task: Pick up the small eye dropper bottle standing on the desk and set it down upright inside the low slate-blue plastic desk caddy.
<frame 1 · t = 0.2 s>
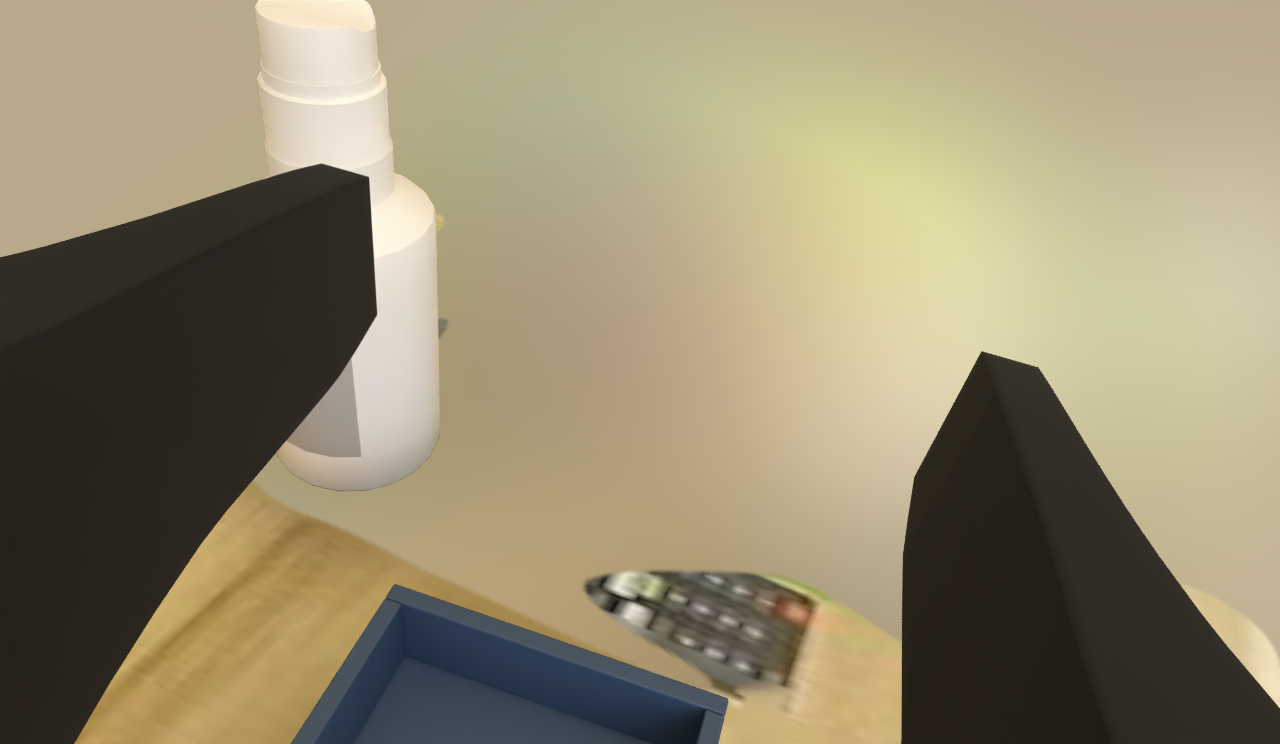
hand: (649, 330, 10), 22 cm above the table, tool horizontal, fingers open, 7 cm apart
spray bottle: (359, 439, 38), on the table
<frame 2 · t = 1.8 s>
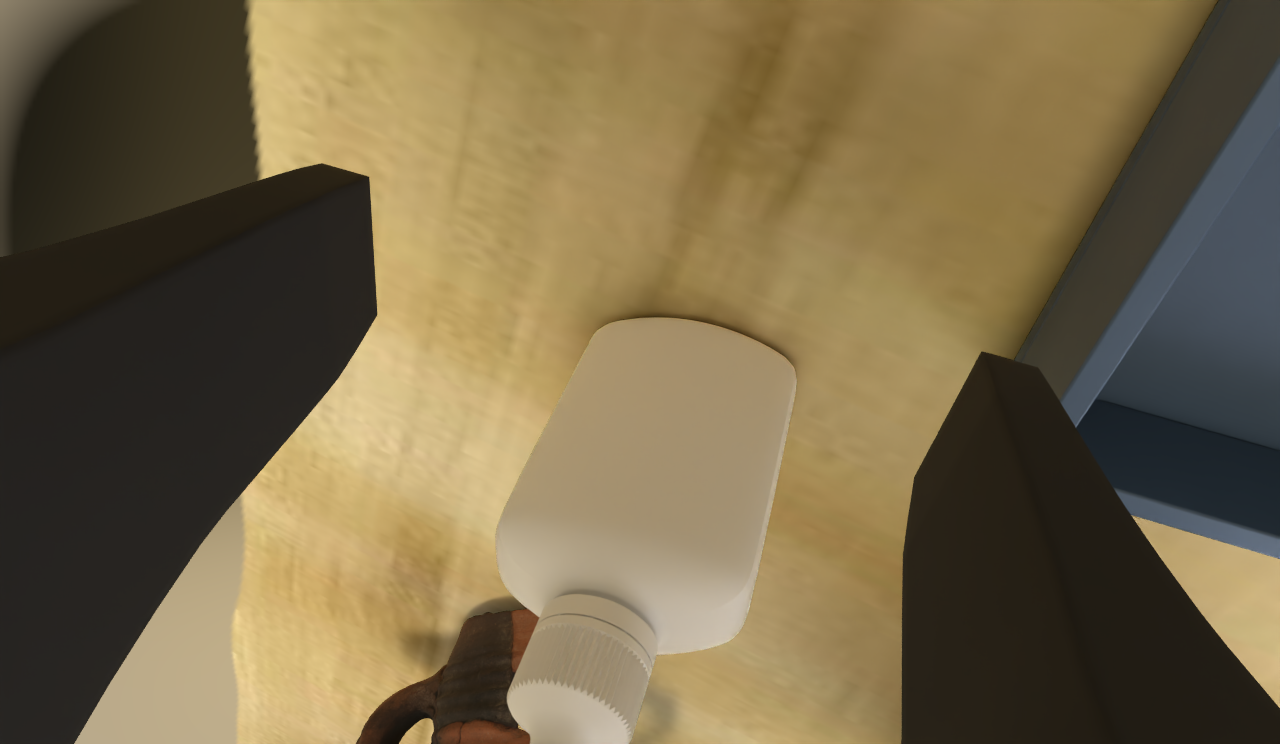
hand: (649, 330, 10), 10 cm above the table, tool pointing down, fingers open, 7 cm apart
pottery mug: (543, 668, 36), on the table
eye dropper bottle: (695, 363, 24), on the table
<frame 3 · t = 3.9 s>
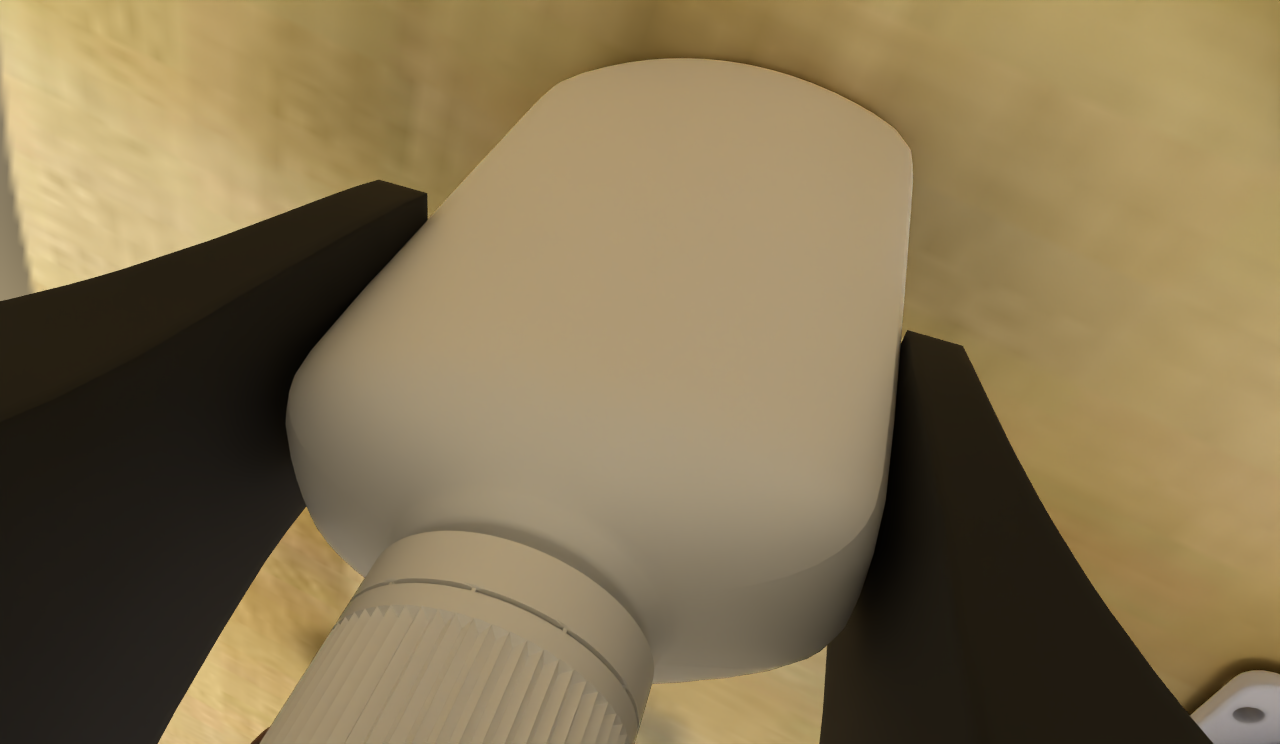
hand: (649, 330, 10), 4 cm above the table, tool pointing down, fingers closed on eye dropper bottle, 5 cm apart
eye dropper bottle: (723, 160, 14), on the table, touching gripper
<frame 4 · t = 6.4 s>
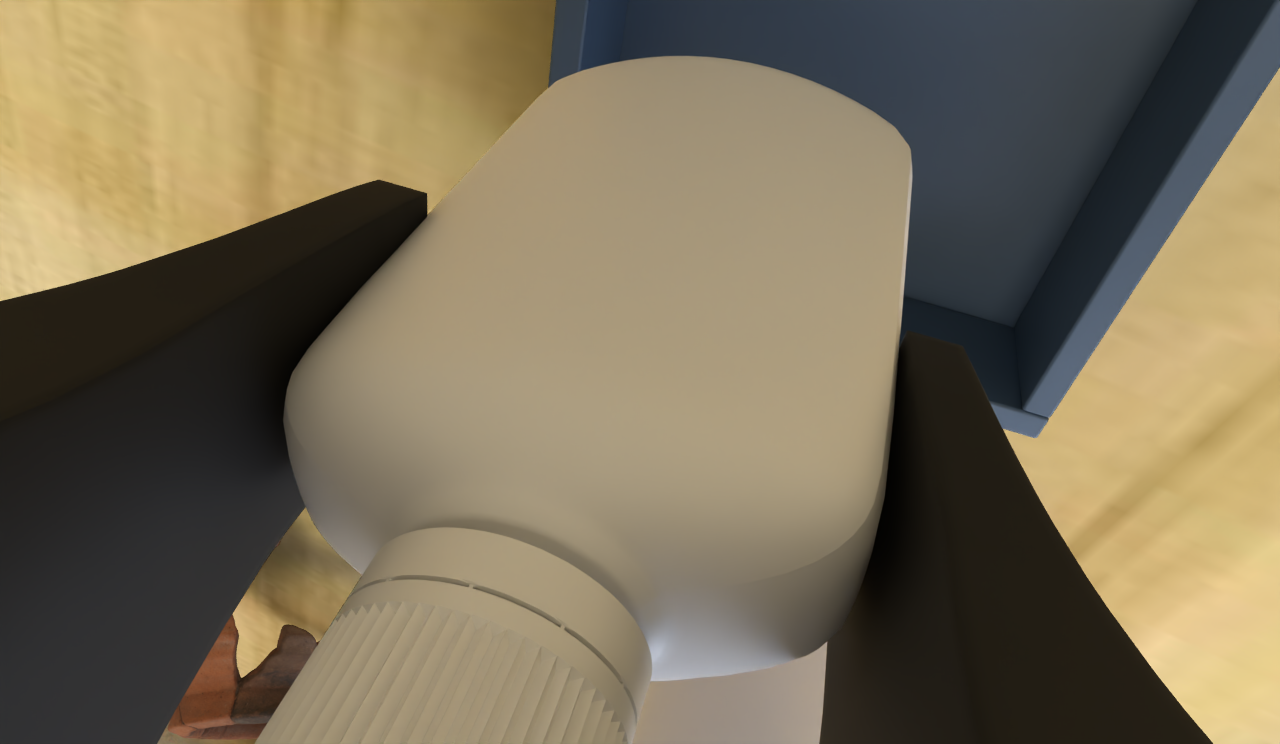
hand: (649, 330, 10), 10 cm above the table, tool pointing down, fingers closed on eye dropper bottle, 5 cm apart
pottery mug: (289, 563, 37), on the table
eye dropper bottle: (722, 158, 14), point 6 cm above the table, touching gripper
ceramic sculpture: (274, 740, 49), on the table
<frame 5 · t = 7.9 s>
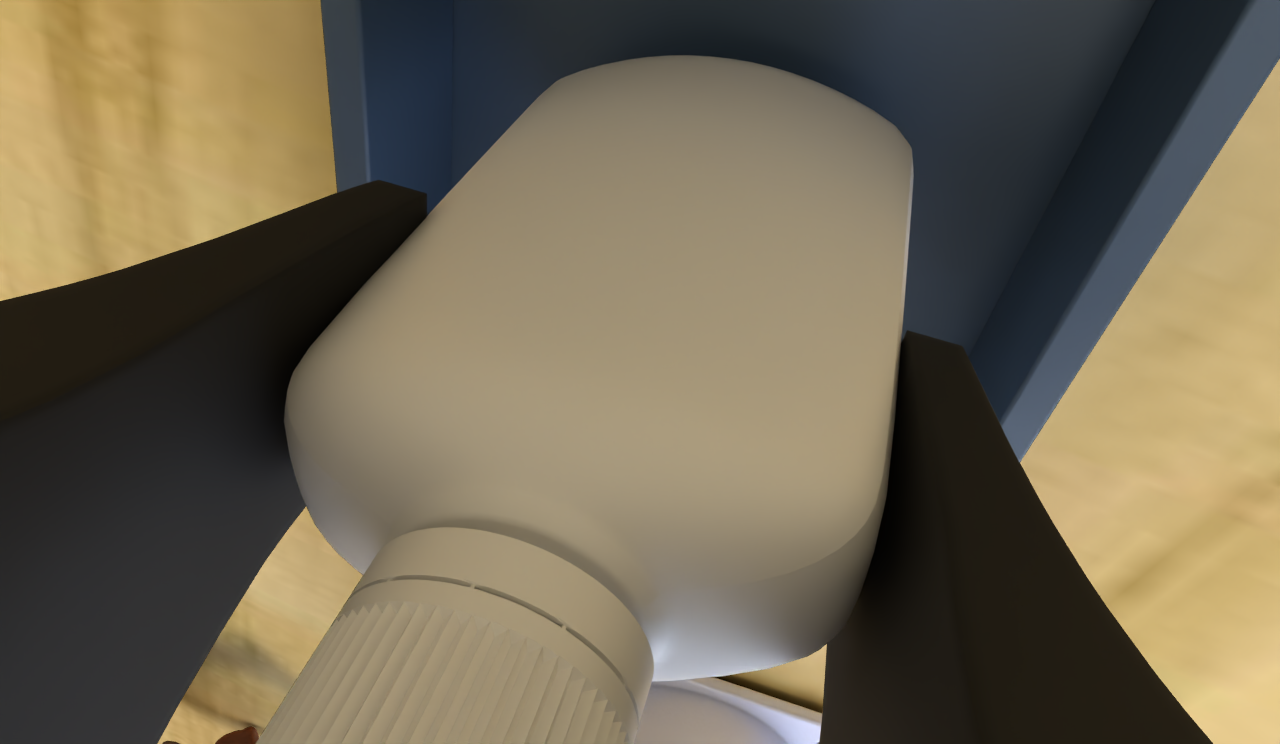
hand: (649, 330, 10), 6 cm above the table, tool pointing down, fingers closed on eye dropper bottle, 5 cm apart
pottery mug: (191, 655, 34), on the table
eye dropper bottle: (723, 158, 14), point 1 cm above the table, touching gripper
caddy: (742, 122, 15), on the table
when the fingers open (5 cm above the table, at t = 8.8 s): eye dropper bottle stays where it is, resting on caddy.
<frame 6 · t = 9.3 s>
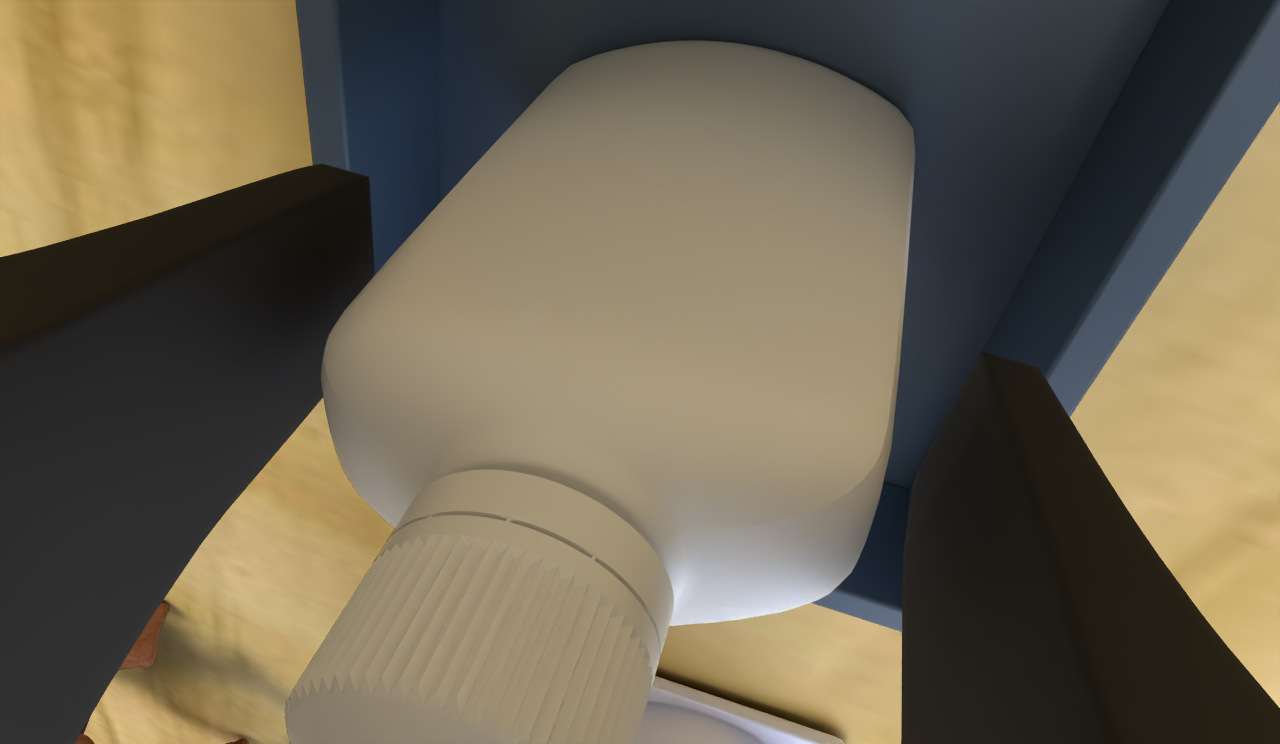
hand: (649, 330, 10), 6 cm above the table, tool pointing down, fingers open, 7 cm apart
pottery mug: (182, 667, 34), on the table
eye dropper bottle: (730, 141, 14), resting on caddy
caddy: (736, 135, 14), on the table
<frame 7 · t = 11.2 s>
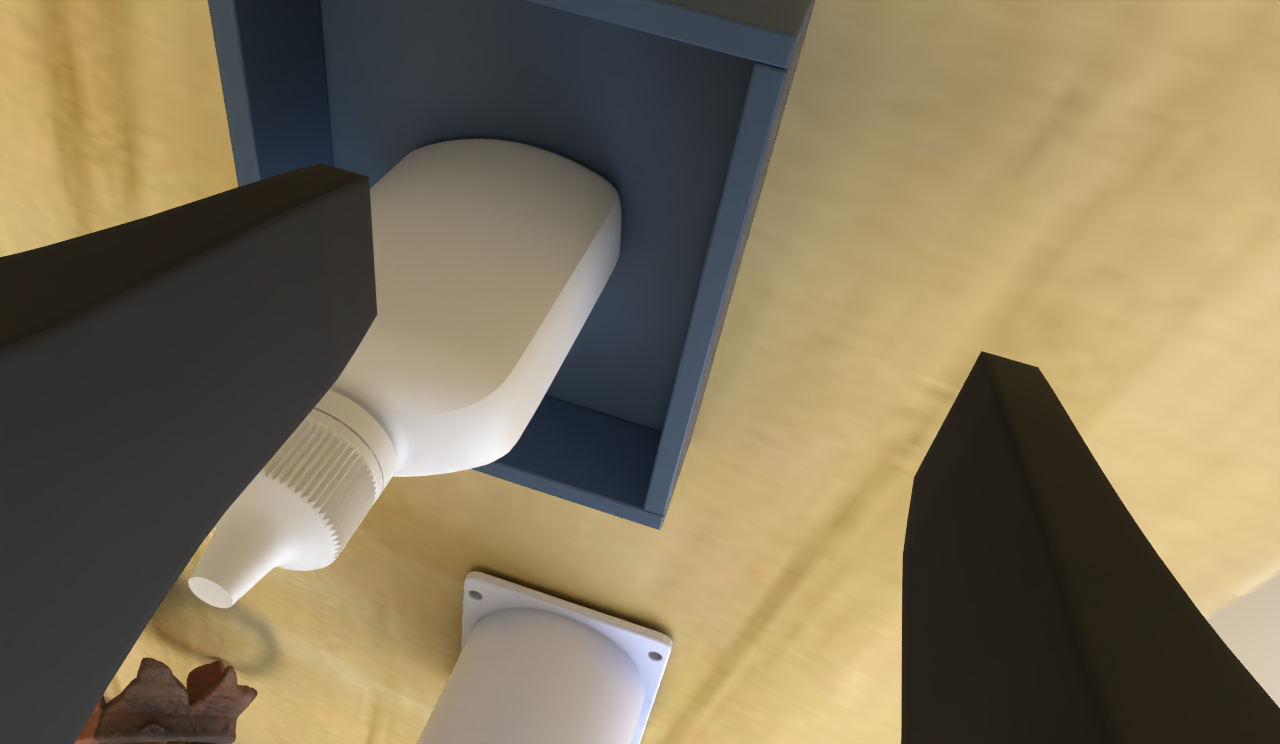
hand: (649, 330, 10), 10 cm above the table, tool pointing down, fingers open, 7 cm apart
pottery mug: (168, 598, 42), on the table
eye dropper bottle: (520, 198, 22), resting on caddy
caddy: (526, 194, 22), on the table
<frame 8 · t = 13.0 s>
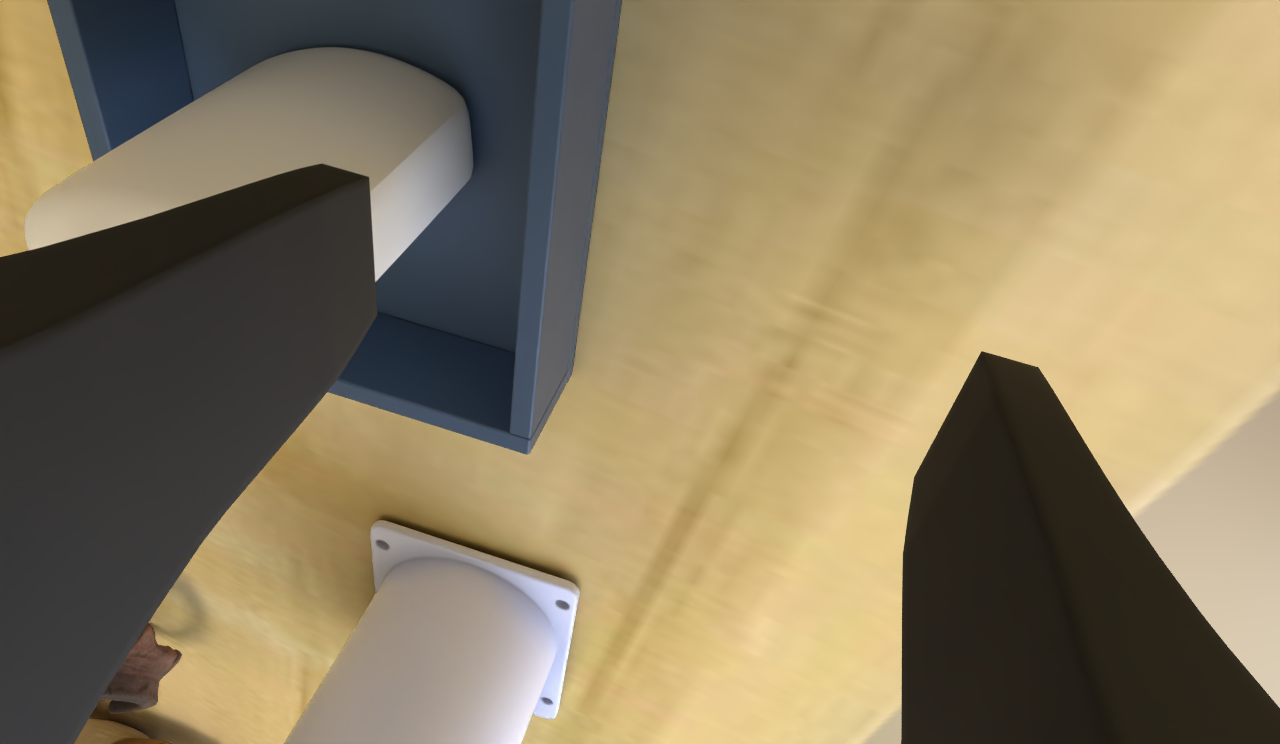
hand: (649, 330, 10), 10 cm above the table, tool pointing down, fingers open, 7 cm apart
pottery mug: (94, 561, 41), on the table
eye dropper bottle: (375, 113, 21), resting on caddy
caddy: (383, 110, 22), on the table
ceramic sculpture: (126, 724, 53), on the table
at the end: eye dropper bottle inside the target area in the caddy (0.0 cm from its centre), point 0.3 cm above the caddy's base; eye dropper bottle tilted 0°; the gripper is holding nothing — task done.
